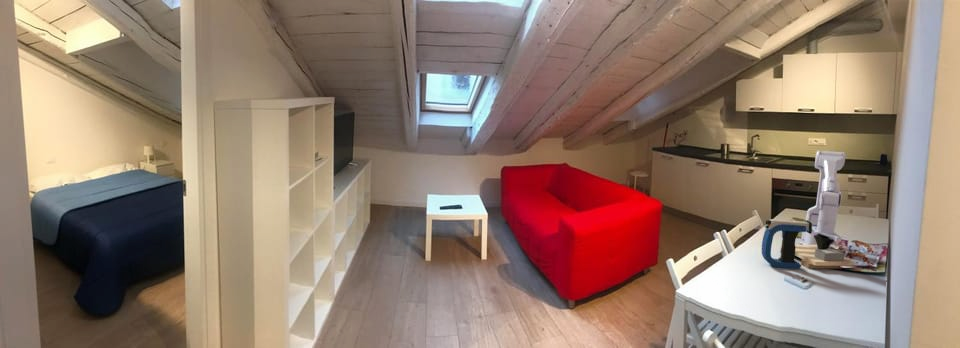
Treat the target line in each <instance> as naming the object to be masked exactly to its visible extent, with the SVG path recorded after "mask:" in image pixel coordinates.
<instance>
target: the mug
mask: <svg viewBox="0 0 960 348" xmlns="http://www.w3.org/2000/svg"><path fill="white" fill-rule="evenodd" d="M805 220H806V218H803V217H798V216H797V217H796V216H794V217H793V216H792V217H791V218H790V220H789V221H802V222H805ZM796 238H798V239H801V238H802V232H799V233H798V236H797V237H796Z"/></svg>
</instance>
